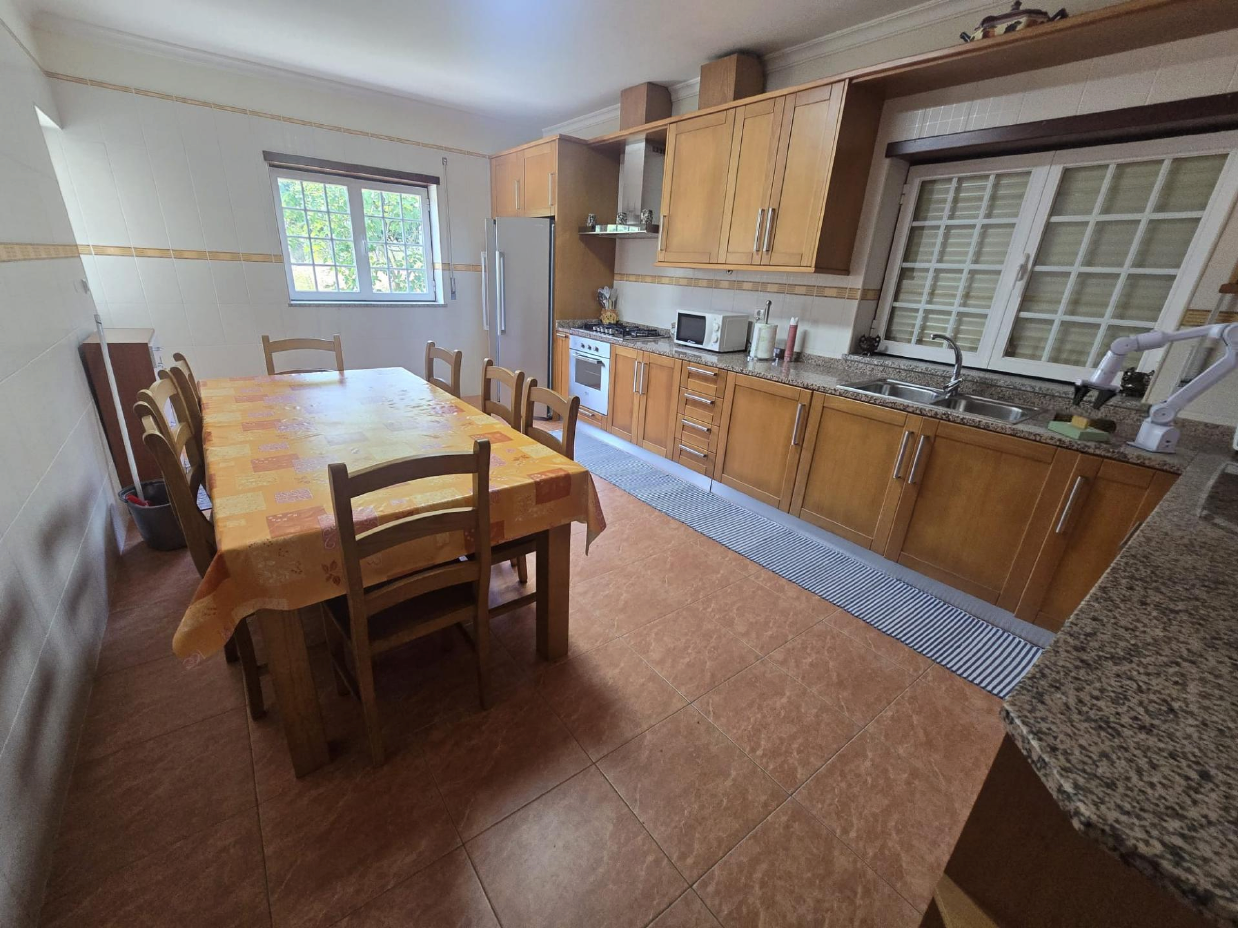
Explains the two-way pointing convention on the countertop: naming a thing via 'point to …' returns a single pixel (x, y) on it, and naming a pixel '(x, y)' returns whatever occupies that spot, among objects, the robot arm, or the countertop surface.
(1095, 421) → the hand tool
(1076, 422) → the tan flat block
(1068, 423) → the green flat block
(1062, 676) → the countertop surface
